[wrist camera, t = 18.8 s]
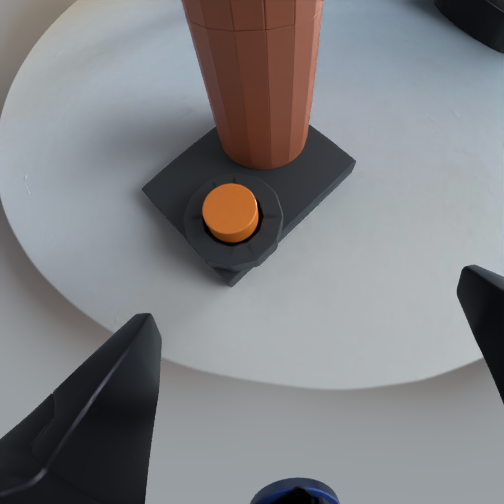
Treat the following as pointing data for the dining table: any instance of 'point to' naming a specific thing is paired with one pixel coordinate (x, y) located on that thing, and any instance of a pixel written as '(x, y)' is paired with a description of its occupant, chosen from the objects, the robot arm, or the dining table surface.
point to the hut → (477, 19)
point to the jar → (258, 73)
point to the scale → (262, 187)
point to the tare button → (230, 212)
